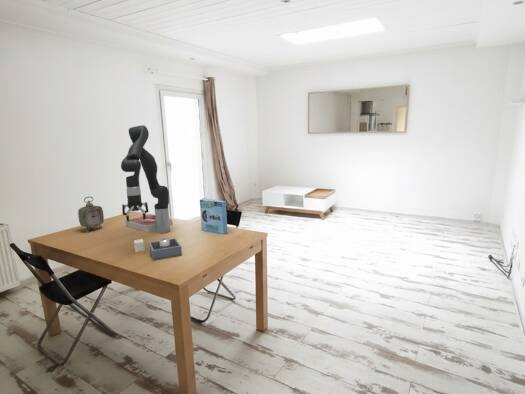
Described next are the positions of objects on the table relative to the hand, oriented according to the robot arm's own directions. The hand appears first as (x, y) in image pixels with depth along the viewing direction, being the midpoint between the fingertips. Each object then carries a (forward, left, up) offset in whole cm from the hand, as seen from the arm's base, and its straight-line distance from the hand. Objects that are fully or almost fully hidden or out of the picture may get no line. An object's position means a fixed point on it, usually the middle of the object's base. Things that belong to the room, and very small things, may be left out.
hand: (136, 220), depth 191 cm
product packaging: (-51, +12, -19) cm, 56 cm away
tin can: (+14, +13, -17) cm, 26 cm away
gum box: (-12, +51, -18) cm, 56 cm away
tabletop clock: (-60, -27, -18) cm, 68 cm away
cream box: (0, 0, -18) cm, 18 cm away
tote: (+14, +13, -18) cm, 27 cm away
